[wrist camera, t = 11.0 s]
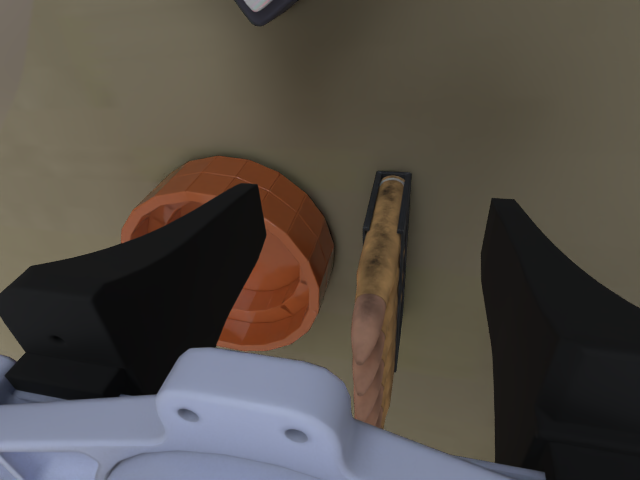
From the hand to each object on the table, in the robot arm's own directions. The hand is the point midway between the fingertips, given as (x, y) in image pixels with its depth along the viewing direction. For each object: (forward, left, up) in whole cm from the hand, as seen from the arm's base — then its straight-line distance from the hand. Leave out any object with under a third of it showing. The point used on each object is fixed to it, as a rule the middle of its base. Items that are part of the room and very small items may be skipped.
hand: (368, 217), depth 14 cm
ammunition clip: (-8, +5, -10) cm, 14 cm away
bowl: (-3, +13, -10) cm, 16 cm away
